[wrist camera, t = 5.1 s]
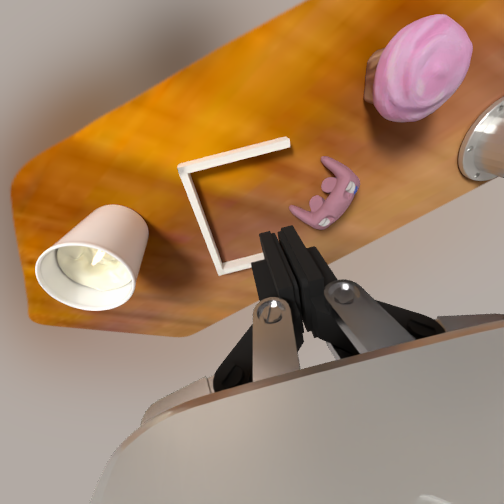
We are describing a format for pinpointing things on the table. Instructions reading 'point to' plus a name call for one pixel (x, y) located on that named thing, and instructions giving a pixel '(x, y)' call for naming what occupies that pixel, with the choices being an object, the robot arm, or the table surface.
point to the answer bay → (189, 186)
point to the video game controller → (330, 196)
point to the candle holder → (96, 260)
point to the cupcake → (418, 69)
